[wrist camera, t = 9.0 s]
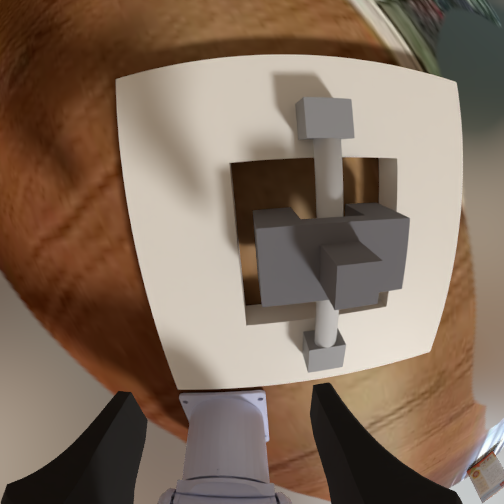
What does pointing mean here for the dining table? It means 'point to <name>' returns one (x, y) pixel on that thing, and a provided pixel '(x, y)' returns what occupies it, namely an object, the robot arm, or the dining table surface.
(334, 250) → the grey notched block
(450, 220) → the white slotted board
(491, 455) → the cracker box
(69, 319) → the dining table surface
